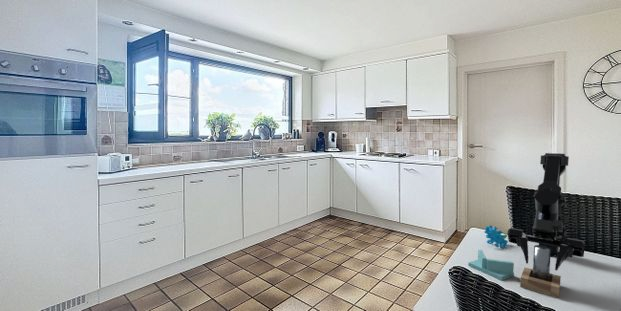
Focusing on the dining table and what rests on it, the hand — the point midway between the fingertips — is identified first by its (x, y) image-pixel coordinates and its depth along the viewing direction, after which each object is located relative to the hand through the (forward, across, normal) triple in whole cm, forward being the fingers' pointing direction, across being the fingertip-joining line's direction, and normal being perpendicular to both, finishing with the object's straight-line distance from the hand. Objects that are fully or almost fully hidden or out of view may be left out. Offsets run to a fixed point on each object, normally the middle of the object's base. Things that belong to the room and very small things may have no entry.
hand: (541, 266), depth 89 cm
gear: (-16, -17, +26) cm, 35 cm away
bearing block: (+4, 0, +6) cm, 7 cm away
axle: (+4, 0, +6) cm, 7 cm away
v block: (+3, -14, +6) cm, 15 cm away
